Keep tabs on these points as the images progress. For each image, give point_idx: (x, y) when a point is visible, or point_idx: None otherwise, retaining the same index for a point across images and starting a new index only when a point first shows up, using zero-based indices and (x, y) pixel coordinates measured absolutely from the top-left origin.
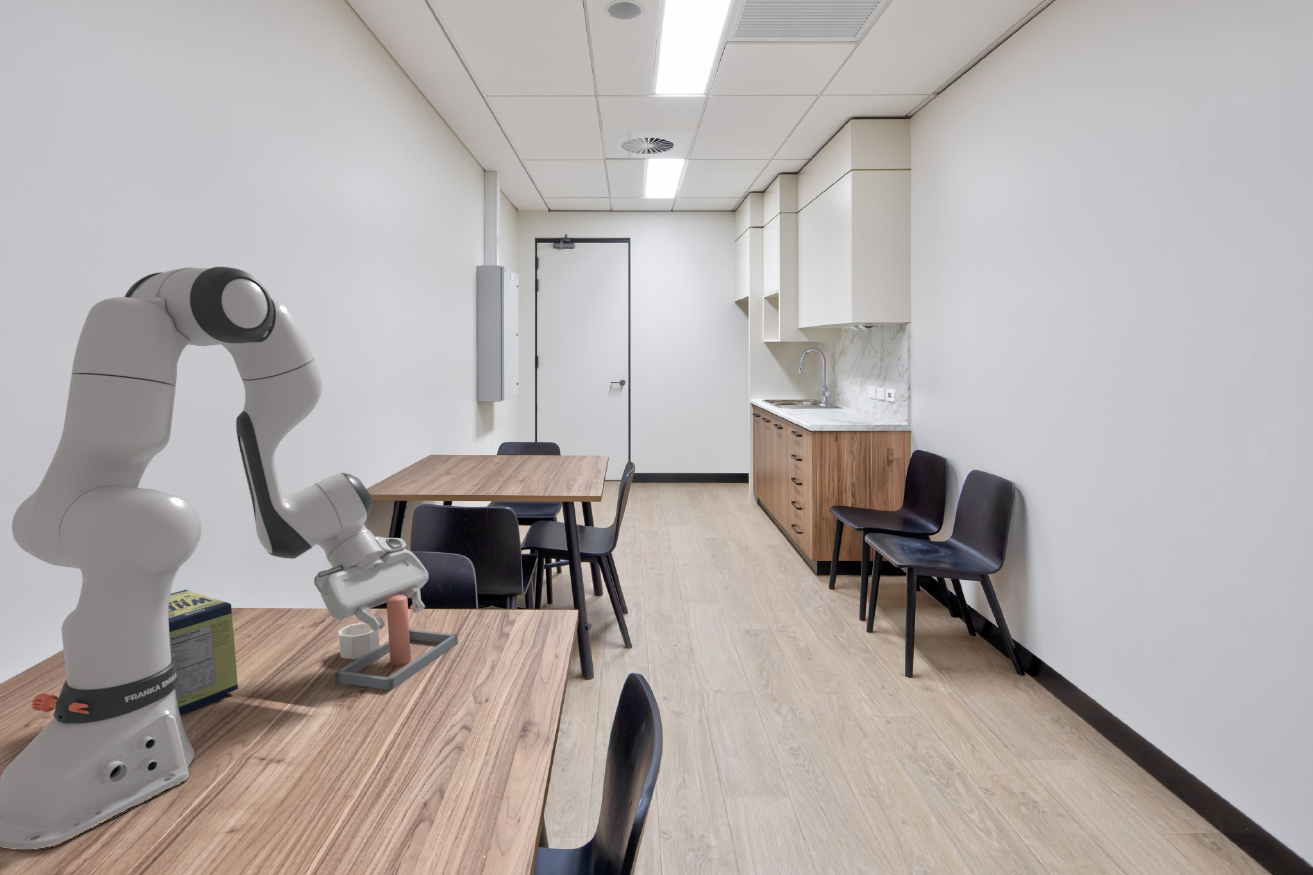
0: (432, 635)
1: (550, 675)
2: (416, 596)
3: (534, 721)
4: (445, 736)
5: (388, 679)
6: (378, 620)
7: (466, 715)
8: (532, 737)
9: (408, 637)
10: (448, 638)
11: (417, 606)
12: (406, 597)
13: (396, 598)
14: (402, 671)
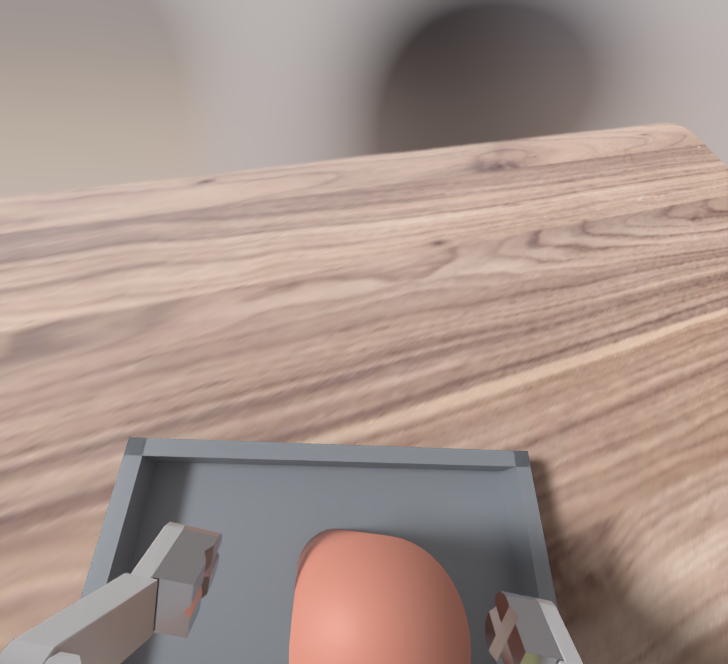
0: (115, 562)
1: (306, 173)
2: (111, 621)
3: (471, 161)
4: (572, 258)
5: (526, 460)
6: (546, 626)
7: (502, 254)
8: (510, 154)
9: (338, 530)
10: (172, 452)
11: (210, 551)
12: (335, 559)
13: (381, 647)
14: (466, 452)
